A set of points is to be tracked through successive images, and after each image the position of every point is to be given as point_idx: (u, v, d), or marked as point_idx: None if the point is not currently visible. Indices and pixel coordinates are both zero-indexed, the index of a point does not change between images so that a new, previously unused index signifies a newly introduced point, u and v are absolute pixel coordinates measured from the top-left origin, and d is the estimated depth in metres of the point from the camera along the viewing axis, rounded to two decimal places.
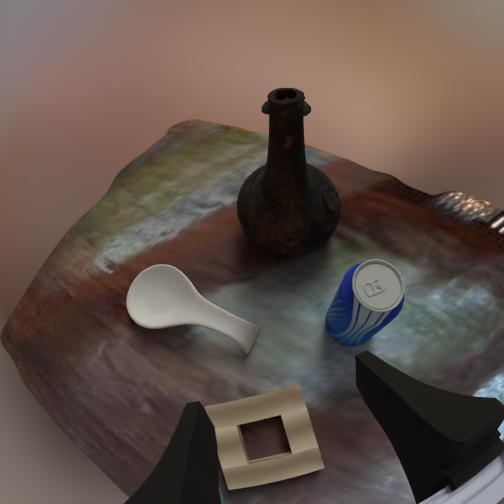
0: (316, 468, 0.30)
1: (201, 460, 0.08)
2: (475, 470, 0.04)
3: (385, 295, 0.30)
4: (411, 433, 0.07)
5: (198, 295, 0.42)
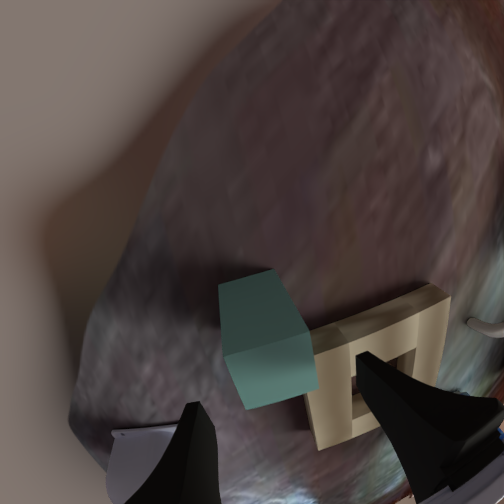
0: (320, 445, 0.23)
1: (201, 460, 0.08)
2: (475, 470, 0.04)
3: None
4: (411, 433, 0.07)
5: None
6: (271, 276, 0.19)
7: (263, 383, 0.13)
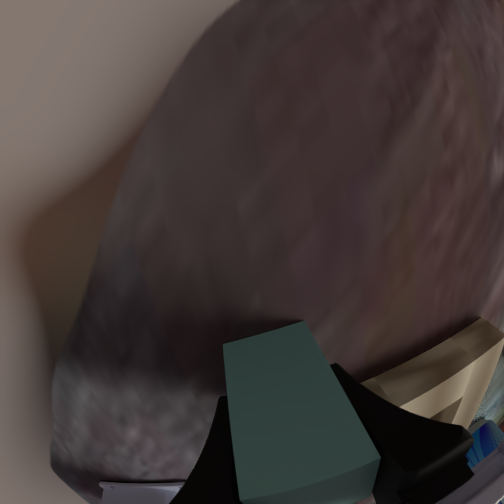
0: None
1: None
2: (436, 497, 0.04)
3: None
4: None
5: None
6: (302, 335, 0.12)
7: None
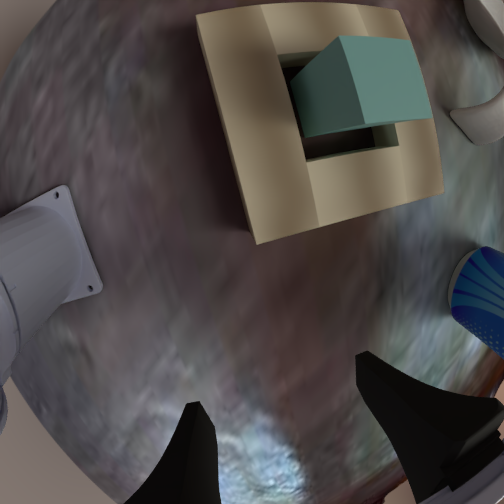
0: (258, 224, 0.16)
1: (201, 460, 0.08)
2: (475, 470, 0.04)
3: None
4: (411, 433, 0.07)
5: None
6: None
7: (380, 83, 0.09)
